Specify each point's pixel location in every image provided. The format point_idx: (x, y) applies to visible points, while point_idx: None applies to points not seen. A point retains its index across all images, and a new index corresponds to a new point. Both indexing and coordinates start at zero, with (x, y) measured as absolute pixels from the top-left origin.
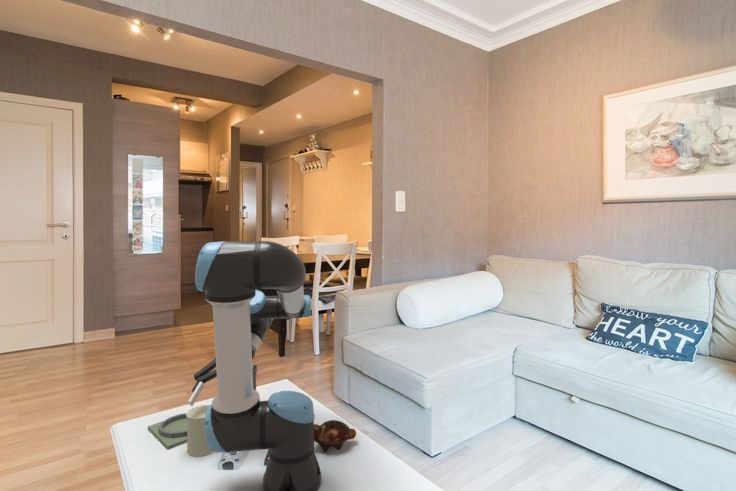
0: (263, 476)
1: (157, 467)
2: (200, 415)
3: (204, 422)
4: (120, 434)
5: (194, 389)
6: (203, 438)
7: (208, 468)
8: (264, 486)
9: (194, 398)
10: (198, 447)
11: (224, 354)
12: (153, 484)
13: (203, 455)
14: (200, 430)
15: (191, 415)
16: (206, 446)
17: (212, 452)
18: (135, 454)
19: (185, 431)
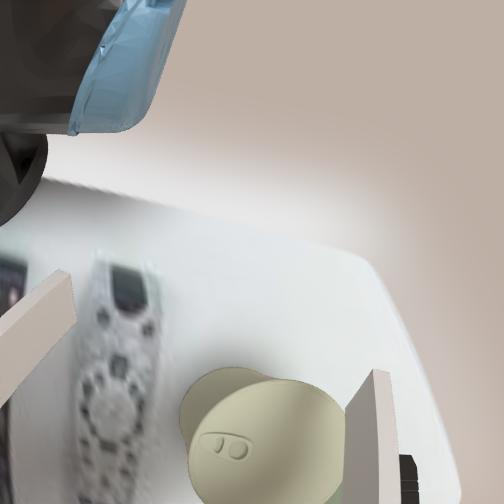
0: (36, 160)
1: (341, 324)
2: (277, 417)
3: (241, 383)
4: (454, 471)
5: (401, 469)
6: (232, 375)
7: (188, 288)
8: (43, 134)
9: (361, 420)
10: (244, 371)
11: None
12: (322, 245)
13: (221, 369)
14: (252, 377)
15: (324, 419)
16: (216, 375)
17: (194, 383)
18: (410, 393)
19: None
